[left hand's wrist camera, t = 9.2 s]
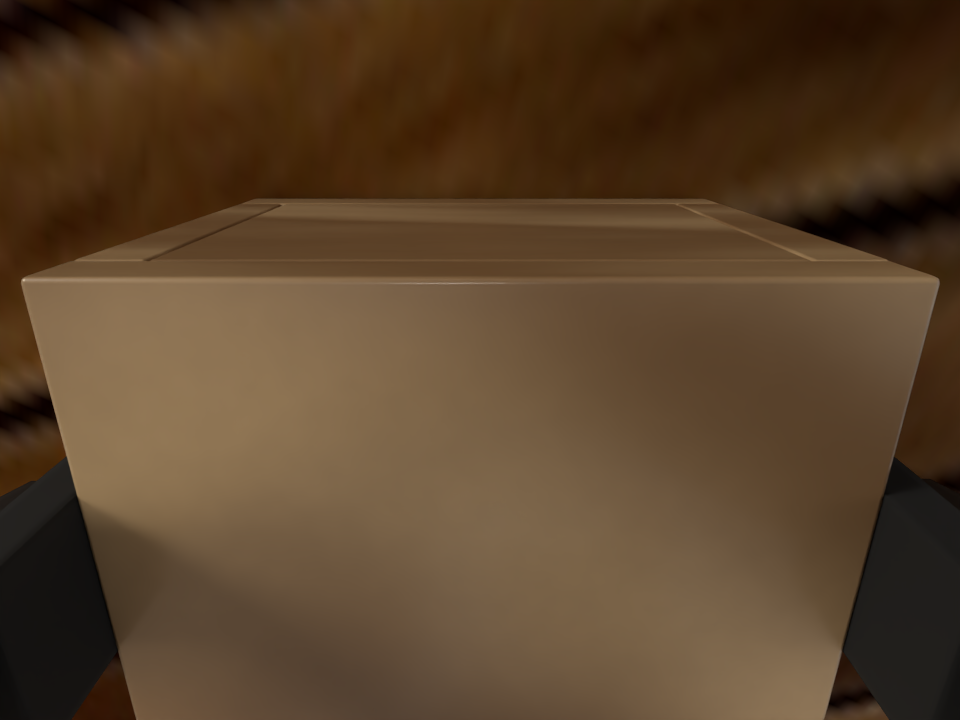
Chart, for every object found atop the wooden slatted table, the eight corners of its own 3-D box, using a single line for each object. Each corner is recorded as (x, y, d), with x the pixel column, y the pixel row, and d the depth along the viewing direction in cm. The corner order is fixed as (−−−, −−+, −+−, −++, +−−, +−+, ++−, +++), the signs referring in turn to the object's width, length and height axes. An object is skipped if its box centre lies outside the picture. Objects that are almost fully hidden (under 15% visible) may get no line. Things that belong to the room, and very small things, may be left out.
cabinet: (642, 708, 21) (737, 1051, 13) (317, 708, 21) (222, 1051, 13) (706, 198, 15) (944, 277, 7) (253, 198, 15) (16, 277, 7)
